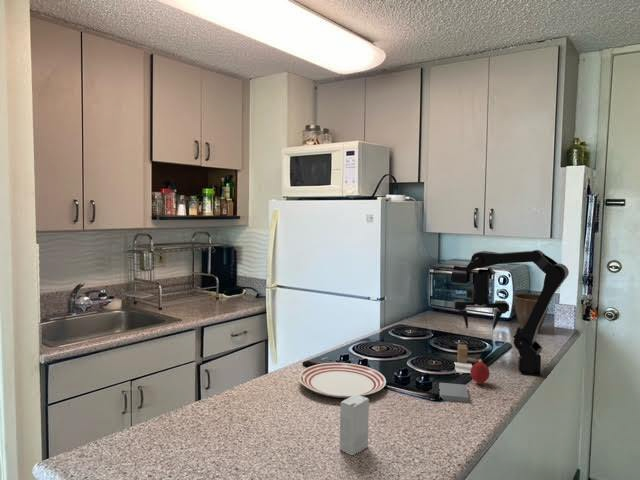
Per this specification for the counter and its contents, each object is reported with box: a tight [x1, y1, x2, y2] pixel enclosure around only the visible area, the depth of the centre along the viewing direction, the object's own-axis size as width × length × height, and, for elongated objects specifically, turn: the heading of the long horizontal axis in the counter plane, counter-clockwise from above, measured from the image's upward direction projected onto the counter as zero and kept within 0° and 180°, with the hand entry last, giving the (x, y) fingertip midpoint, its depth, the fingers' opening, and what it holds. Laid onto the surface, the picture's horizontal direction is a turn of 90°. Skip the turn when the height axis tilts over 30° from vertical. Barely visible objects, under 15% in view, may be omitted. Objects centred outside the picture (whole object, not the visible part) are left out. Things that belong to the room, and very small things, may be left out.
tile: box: [438, 382, 469, 404], centre depth 146 cm, size 2×8×10 cm
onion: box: [470, 359, 491, 385], centre depth 154 cm, size 6×6×8 cm
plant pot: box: [513, 293, 549, 333], centre depth 218 cm, size 15×15×16 cm
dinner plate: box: [298, 362, 387, 399], centre depth 152 cm, size 27×27×3 cm
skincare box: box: [339, 395, 370, 456], centre depth 112 cm, size 6×4×12 cm
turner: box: [453, 343, 473, 375], centre depth 170 cm, size 15×6×6 cm, turn 168°
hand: (480, 328), depth 175 cm, fingers open, 9 cm apart
